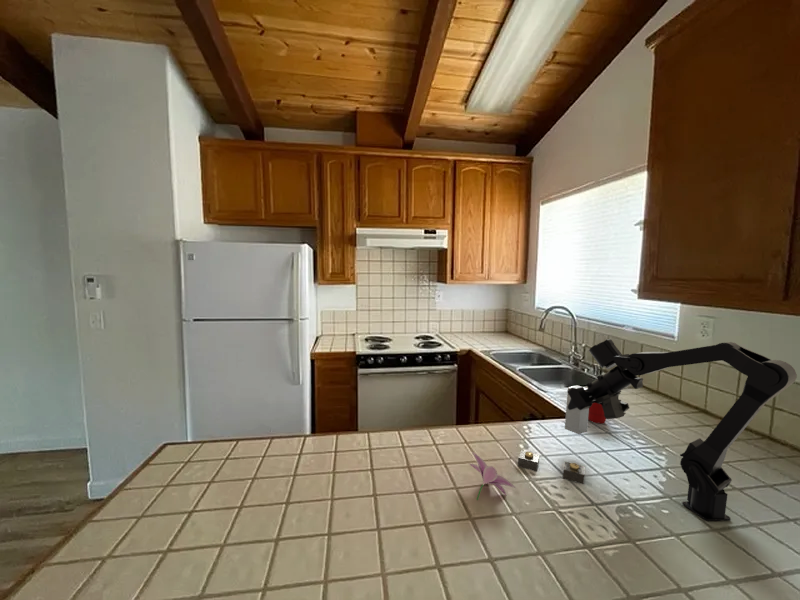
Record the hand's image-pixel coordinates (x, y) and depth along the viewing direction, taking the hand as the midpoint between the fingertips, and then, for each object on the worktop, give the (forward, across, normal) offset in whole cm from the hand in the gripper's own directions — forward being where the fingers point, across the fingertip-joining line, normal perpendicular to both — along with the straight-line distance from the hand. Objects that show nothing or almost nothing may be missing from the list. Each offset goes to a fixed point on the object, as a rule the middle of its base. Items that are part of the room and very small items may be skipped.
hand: (573, 407), depth 115 cm
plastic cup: (+16, +32, -3) cm, 36 cm away
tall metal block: (+4, 0, -6) cm, 7 cm away
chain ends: (+6, -17, -13) cm, 22 cm away
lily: (+6, -41, -13) cm, 43 cm away
